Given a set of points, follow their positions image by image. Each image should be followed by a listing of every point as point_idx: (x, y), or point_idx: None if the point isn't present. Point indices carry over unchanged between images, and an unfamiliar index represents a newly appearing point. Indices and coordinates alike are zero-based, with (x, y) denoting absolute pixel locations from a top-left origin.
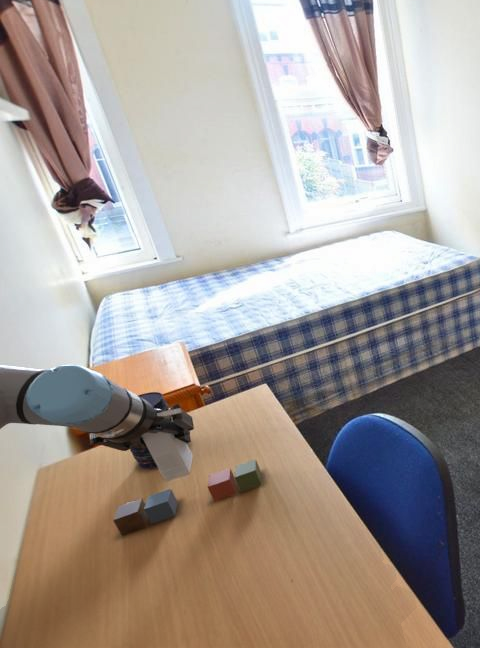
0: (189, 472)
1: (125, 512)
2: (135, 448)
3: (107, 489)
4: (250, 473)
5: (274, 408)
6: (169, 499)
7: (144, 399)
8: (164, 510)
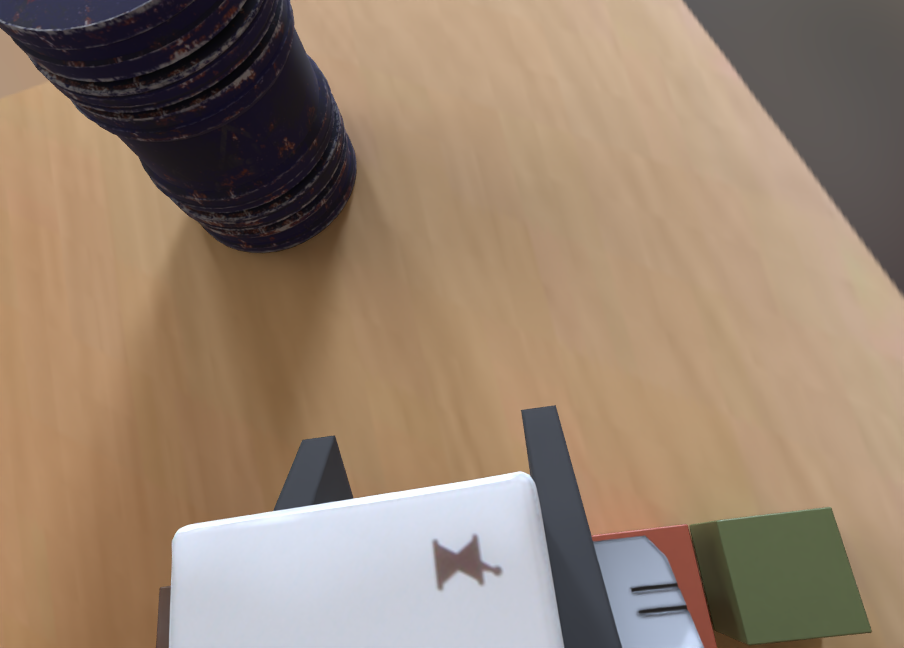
0: None
1: None
2: (163, 177)
3: (105, 315)
4: (834, 635)
5: (694, 18)
6: None
7: None
8: None
